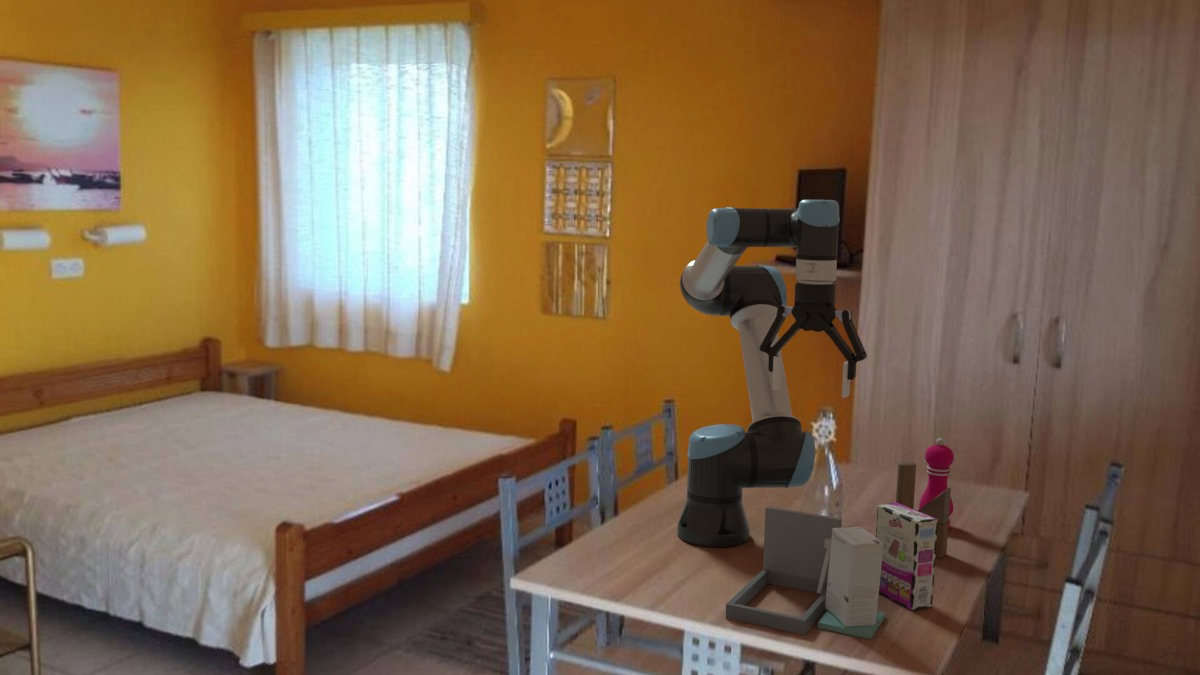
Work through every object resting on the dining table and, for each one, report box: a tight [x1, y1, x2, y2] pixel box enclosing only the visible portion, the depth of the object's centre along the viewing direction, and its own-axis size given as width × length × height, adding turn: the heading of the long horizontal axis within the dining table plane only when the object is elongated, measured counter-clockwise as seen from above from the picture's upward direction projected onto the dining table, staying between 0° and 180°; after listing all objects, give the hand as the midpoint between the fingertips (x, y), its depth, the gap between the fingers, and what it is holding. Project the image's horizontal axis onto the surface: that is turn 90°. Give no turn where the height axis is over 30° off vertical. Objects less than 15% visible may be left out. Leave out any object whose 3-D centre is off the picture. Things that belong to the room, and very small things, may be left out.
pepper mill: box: [918, 437, 955, 530], centre depth 231 cm, size 7×7×20 cm
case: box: [725, 506, 842, 636], centre depth 186 cm, size 14×20×14 cm
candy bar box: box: [875, 502, 938, 611], centre depth 190 cm, size 11×5×16 cm, turn 24°
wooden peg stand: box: [895, 460, 952, 559], centre depth 216 cm, size 4×11×18 cm, turn 53°
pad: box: [817, 609, 886, 640], centre depth 180 cm, size 9×10×1 cm
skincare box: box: [825, 526, 884, 627], centre depth 179 cm, size 8×6×15 cm
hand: (810, 392), depth 202 cm, fingers open, 13 cm apart
